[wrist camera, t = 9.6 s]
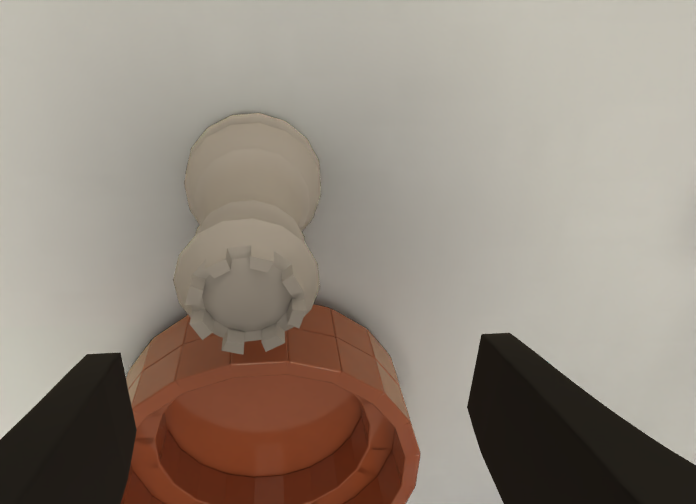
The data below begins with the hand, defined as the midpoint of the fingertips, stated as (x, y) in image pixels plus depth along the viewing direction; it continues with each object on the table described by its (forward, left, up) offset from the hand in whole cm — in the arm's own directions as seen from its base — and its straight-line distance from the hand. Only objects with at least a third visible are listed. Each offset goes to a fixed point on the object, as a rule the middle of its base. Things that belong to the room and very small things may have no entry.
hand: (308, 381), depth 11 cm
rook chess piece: (+1, +1, -9) cm, 10 cm away
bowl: (-9, +1, -9) cm, 13 cm away
